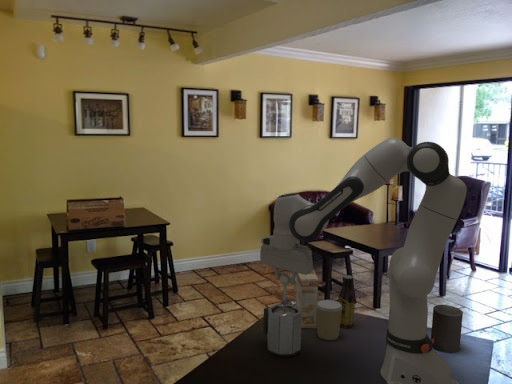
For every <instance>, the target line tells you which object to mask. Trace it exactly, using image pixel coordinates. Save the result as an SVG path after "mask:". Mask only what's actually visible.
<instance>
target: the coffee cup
mask: <svg viewBox="0 0 512 384" xmlns="http://www.w3.org/2000/svg"><path fill="white" fill-rule="evenodd" d="M316 307H317V328H316V330H317V337H319V338H320V339H323V340H326V341H332V340H333V341H334V340H337V339H339V336H340V329H341V328H340V321H341V311H342V306H341V304H340V303H339V302H338V301H337V300H333V299H321V300H319V301H317V305H316Z"/></svg>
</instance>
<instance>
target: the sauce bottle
mask: <svg viewBox="0 0 512 384" xmlns="http://www.w3.org/2000/svg"><path fill="white" fill-rule="evenodd" d="M353 283H354V277H353V275H349V274H344V275H343V276H342V286H341V289H340V291H339V294H338V301H337V302H339V303H340V304H341V306H342V311H341V321H340V327H341V328H344V329H347V328H348V329H349V328H352V327H353V325H354V319H355V318H354V316H355V305H356V303H355V298H356V294H355V291H354V289H353V287H354V286H353Z"/></svg>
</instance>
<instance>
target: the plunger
mask: <svg viewBox="0 0 512 384" xmlns="http://www.w3.org/2000/svg"><path fill="white" fill-rule="evenodd" d="M291 277H292V275H290V274H289V273H288V272H283V273H281V276H280V280H279V282H280V283H281V284H282V285H283V303H282V304H283V308H277V309H275V310H274V313H275V314H278V315H294V314H296V311H295V310H293V309H290V308H286V304H287V298H288V297H287V295H288V293H287V291H288V290H287V288H288V287H287V286H289V284H290V283H289V282H288V281H289V278H291Z"/></svg>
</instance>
